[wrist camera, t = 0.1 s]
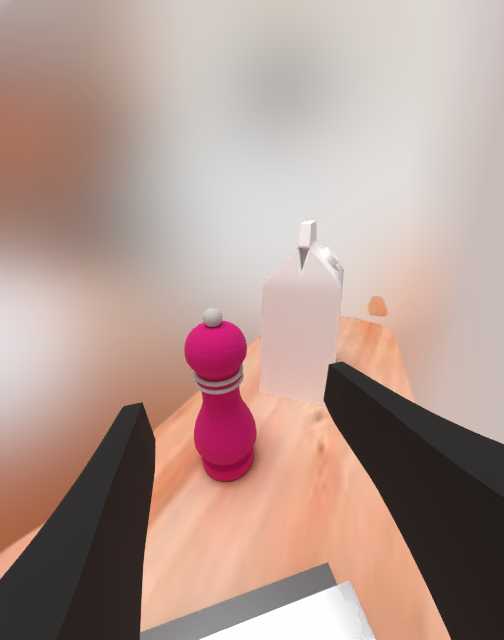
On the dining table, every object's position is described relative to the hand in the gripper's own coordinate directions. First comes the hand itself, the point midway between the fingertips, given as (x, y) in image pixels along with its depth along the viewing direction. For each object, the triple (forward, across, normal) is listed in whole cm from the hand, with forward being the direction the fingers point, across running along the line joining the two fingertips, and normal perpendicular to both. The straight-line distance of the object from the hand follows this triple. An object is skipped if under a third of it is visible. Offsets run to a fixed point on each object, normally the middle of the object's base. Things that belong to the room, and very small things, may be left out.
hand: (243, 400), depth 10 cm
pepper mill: (+12, 0, +23) cm, 26 cm away
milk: (+24, -15, +24) cm, 37 cm away
